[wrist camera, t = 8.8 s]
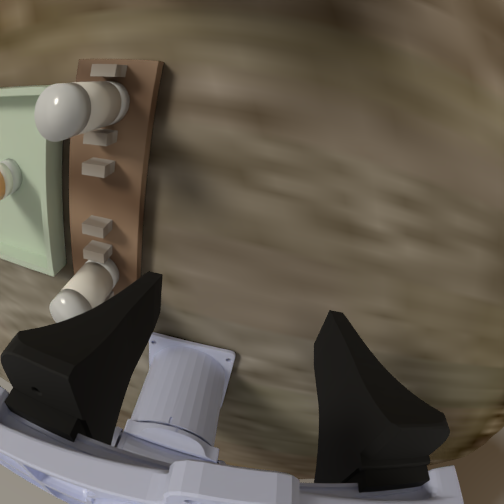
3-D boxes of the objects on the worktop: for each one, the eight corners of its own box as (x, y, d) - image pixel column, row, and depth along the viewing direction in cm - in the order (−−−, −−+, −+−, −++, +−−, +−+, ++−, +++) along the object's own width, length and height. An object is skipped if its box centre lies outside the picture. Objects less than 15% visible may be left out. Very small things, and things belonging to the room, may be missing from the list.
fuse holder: (140, 301, 26) (130, 320, 24) (81, 284, 26) (68, 300, 24) (163, 62, 17) (149, 59, 15) (86, 59, 17) (66, 58, 15)
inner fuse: (119, 290, 25) (88, 339, 19) (88, 281, 24) (53, 326, 19) (119, 259, 23) (83, 306, 18) (86, 250, 23) (46, 293, 18)
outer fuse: (126, 126, 18) (76, 144, 13) (88, 123, 18) (33, 139, 13) (132, 82, 17) (81, 83, 12) (93, 80, 17) (36, 84, 12)
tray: (66, 263, 25) (54, 276, 23) (-13, 238, 25) (-25, 248, 23) (67, 84, 18) (50, 86, 16) (-20, 89, 17) (-37, 93, 15)
